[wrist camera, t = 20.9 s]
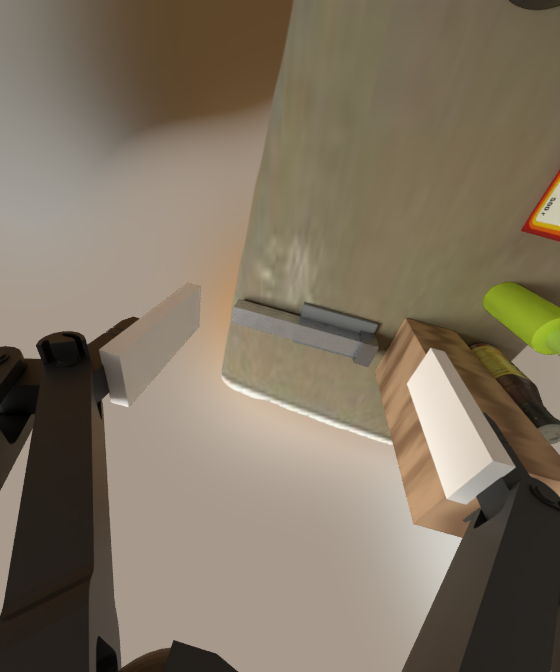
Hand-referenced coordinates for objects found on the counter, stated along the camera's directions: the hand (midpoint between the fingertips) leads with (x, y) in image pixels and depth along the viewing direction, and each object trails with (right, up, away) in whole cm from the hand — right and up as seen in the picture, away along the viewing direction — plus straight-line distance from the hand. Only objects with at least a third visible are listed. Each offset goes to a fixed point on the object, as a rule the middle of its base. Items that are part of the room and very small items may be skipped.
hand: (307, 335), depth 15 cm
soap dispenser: (+37, +6, +31) cm, 49 cm away
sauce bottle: (+38, -3, +37) cm, 53 cm away
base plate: (+10, +1, +39) cm, 40 cm away
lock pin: (+3, +2, +38) cm, 38 cm away
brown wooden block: (+26, -4, +39) cm, 47 cm away
